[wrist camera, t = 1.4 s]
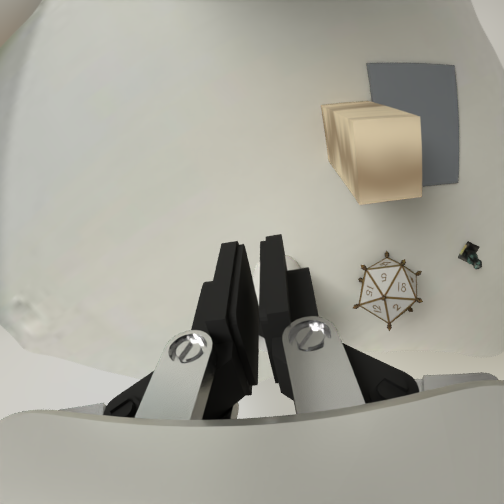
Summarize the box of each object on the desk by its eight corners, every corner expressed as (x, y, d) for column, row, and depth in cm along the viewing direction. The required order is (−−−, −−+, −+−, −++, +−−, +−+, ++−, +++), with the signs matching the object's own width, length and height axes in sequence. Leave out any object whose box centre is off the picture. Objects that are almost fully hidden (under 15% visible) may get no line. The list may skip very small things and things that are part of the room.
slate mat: (366, 63, 26) (367, 63, 26) (452, 65, 25) (454, 65, 25) (378, 190, 33) (379, 191, 33) (456, 181, 32) (458, 182, 32)
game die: (382, 247, 41) (445, 263, 33) (371, 305, 43) (429, 329, 34) (340, 246, 36) (412, 265, 28) (329, 314, 38) (393, 345, 30)
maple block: (320, 105, 29) (352, 120, 19) (368, 100, 28) (420, 116, 18) (328, 161, 32) (359, 204, 22) (373, 155, 31) (421, 196, 21)
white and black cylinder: (242, 257, 38) (236, 314, 30) (297, 244, 37) (307, 299, 29) (258, 300, 42) (257, 358, 33) (309, 288, 40) (319, 346, 32)
